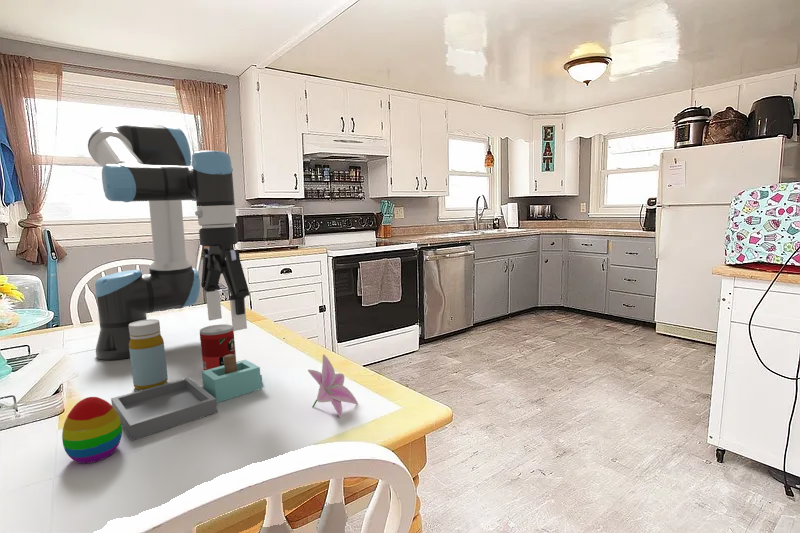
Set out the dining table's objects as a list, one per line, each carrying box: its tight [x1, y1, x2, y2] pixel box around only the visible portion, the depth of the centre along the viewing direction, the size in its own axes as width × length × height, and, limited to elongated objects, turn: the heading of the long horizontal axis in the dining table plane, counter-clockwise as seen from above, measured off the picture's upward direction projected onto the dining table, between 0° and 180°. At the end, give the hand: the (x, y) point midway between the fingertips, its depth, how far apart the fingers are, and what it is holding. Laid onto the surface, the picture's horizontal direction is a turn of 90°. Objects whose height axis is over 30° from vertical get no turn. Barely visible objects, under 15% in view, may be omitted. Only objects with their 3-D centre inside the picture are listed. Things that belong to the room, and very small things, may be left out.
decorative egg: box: [61, 396, 123, 464], centre depth 74 cm, size 8×8×10 cm
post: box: [224, 354, 237, 374], centre depth 99 cm, size 2×2×8 cm
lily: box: [307, 354, 358, 418], centre depth 89 cm, size 12×12×10 cm
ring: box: [201, 359, 263, 404], centre depth 100 cm, size 8×12×5 cm, turn 133°
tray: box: [110, 377, 218, 441], centre depth 90 cm, size 16×15×3 cm
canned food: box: [199, 323, 237, 371], centre depth 112 cm, size 8×8×11 cm
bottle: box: [129, 318, 169, 391], centre depth 104 cm, size 7×7×15 cm
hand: (227, 324), depth 98 cm, fingers open, 13 cm apart
